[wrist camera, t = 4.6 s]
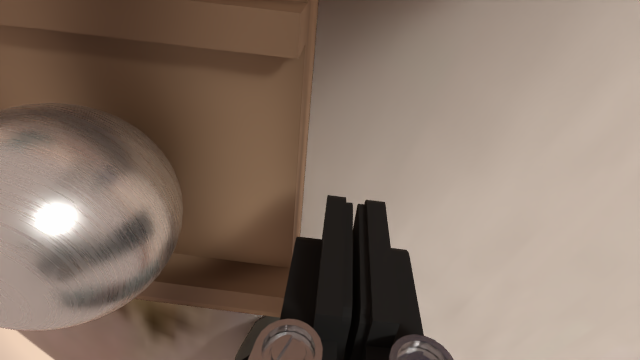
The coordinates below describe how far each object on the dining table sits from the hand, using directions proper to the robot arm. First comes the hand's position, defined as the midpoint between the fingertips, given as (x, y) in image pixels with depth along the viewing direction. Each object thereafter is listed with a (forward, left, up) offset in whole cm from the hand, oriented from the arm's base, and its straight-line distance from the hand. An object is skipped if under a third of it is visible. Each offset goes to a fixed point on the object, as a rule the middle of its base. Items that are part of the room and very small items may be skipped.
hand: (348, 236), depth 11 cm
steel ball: (+8, 0, +1) cm, 8 cm away
